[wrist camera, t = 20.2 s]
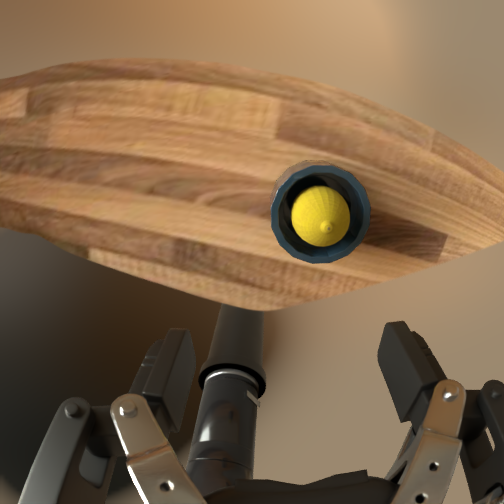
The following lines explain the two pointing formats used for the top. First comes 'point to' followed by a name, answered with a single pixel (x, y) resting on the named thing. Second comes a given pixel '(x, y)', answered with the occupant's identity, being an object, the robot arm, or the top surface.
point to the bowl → (309, 176)
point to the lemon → (320, 215)
